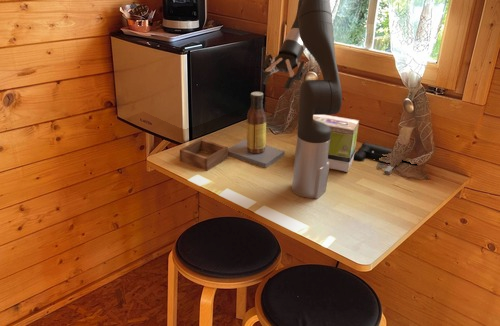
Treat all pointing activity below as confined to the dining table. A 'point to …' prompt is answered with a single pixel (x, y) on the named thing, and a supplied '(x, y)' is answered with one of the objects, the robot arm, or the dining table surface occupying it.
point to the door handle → (372, 154)
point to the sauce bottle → (256, 124)
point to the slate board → (258, 159)
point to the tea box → (340, 140)
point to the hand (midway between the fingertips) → (274, 86)
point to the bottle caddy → (205, 163)
